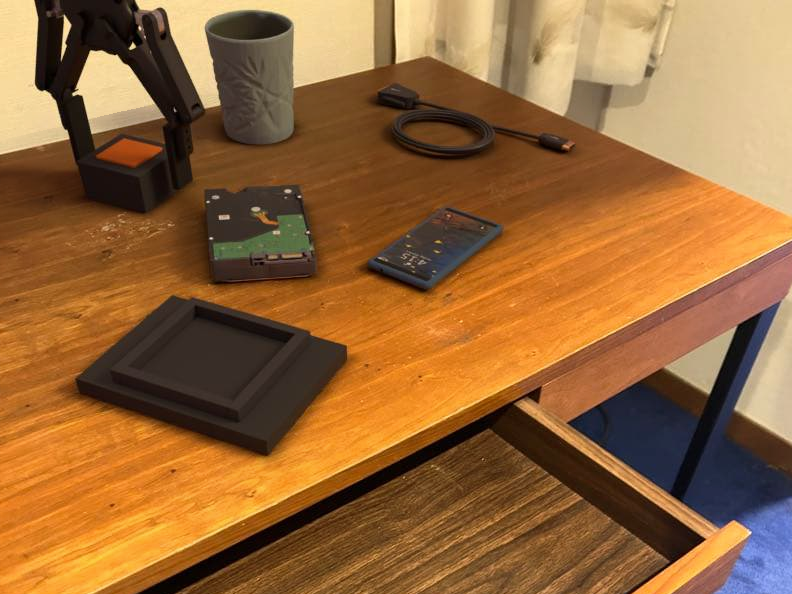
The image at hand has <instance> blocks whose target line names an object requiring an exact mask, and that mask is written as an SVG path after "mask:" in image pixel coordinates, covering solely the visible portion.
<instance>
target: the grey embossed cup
mask: <svg viewBox="0 0 792 594" xmlns="http://www.w3.org/2000/svg"><path fill="white" fill-rule="evenodd" d="M204 33H205V37H206V41H207V46H208V50H209V55H210V58H211V60H212V69H213V70H212V71H213V75H214V80H215V82H216V90H217V93H218V100H219V106H220V109H221V114H222V121H223V122H222V123H223V127H224V132H225V133H226V135H227V136H228V138H229V139H231V140H233V141H235V142H239V143H241V144H247V145H255V146H256V145H257V146H258V145H271V144H275V143H279V142H283V141H285V140H287V139H288V138H290V137H291V136H292V135H293V132H294V127H295V116H294V115H295V113H294V110H293V109H294V108H293V106H294V103H295V101H294V96H295V93H294V87H295V85H294V83H295V81H294V43H295V42H294V37H295V24H294V22H293V21H292V19H290V17H288V16H286V15H284V14H281V13H278V12H274V11H269V10H260V9H239V10H233V11H232V10H231V11H228V12H223V13H220V14H217V15H215V16H212V17H211V18H209V19H208V20H207V21H206V23H205V24H204Z"/></svg>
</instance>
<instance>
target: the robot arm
mask: <svg viewBox="0 0 792 594" xmlns="http://www.w3.org/2000/svg"><path fill="white" fill-rule="evenodd" d="M33 1H34V2H33V3H34V7H35V10H36V11H35V12H36V16H37V32H36V49H35V50H36V51H35V67H34V69H35V70H34V85H35V88H36V90H38V91H40V92H44V91H45V92H47V93H48V94H49V95H50V96H51V98H52V99H53V100H54V101H55V103H56V107H57V111H58V114H59V118H60V122H61V126H62V128H63V129H64V130H65V131H67V135H68V139H69V143H70V147H71V150H72V154H73V157H74V160H75V161H74V162H75V165H76V166H77V162H76V161H78V160H79V159H81V158H83V157H84V156H86V155H87V154H89V153H91V152H92V151H94V150H96V147H95V141H94V138H93V134H92V129H91V125H90V122H89V117H88V112H87V109H86V104H85V101H84V96H83V95H81V94H75V95H74V93H76V92H78V91H79V90H80V89H79V88H77V87H78V84H79V81H80V79H81V76H82V74H83V71H84V69H85V66H86V63H87V62H88V61H87V60H88V58H89V55H90V54H91V51H92V52H104V53H105V54H108V55H110V56H111V55H112V56H117V57H118V58H119V60H120V61H121V62H122V64H123V65H126V66H128V67H129V69H130V70H131V71H132V73H133V74H134V76H135V78H137V80H138V81H139V82H140V84H141V85H142V87H143V88H144V90H145V92H146V93H147V94H148V96H149V97H150V99H151V100H152V102H153V103H154V105H155V106H156V107H157V109H158V110H159V111H160V113H161V115H163V117H164V119H165V120H166V122H167V123H165V124H164V125H161V126H162V128H161V129H162V135H163V139H164V144H165V145H166V151H167V157H168V162H169V168H170V174H171V179H172V185H173V189H176V190H178V191H180V190H182V189H183V188H185V187H186V186H187V185H189V184H190V183H192V182H193V181H194V176H193V170H192V163H191V159H190V158H191V157H190V156H191V155H192V154H193V153H194V142H193V136H192V129H191V124H193V123H194V122H196V121H198V120H199V119H201V118H203V116H205V115H206V108H205V106H204V104H203V102H202V99H201V97H200V94H199V92H198V91H197V89H196V86H195V84H194V82H193V79H192V77H191V75H190V73H189V71H188V68H187V66H186V63H185V61H184V60H183V58H182V55H181V53H180V51H179V49H178V46H177V44H176V42H175V39H174V38H173V36H172V32H171V27H170V22H169V17H168V13H167V11H166V9H164V7H160V6H159V7H156V8H155V9H153V10H150V9H149V10H148V9H141V8H140V7H139V5H138V3H137V1H136V0H33ZM65 18H66V20H67V21H68V22H69V24H70V27H69V31H68V33H67V36H66V38H65V41H64V40H63V39H64V29H65ZM139 28H140V29H139ZM63 41H64V44H65V45H66V47H65V50H64V51H63ZM132 45H134V46H135V47H133V48H132V49H131V47H132ZM62 53H63V55H62Z"/></svg>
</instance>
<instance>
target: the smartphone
mask: <svg viewBox="0 0 792 594" xmlns="http://www.w3.org/2000/svg"><path fill="white" fill-rule="evenodd" d="M503 231H504V226H503V225H502V224H500V223H497V222H493V221H491V220H488V219H485V218H482V217H479V216H477V215H474V214H471V213H468V212H465V211H462V210H460V209H457V208H454V207H451V206H448V205H447V206H443V207H442V208H440V209H439V210H437V211H436V212H435V213H433V214H432V215H431V216H429V217H428V218H426V219H425V220H424V221H422V222H421V223H419V224H418V225H417V226H415V227H414V228H412V229H411V230H410V231H408V232H406V233H405V234H404V235H402V236H401V237H400V238H398V239H396V241H394V242H393V243H391V244H389V245H388V246H387V247H386V248H384V249H383V250H381V251H379V252H378V253H376V255H374V256H373V257H371V258H370V259H368V261H367V267H368V268H370V269H372V270H375V271H377V272H380V273H382V274H384V275H387V276H390V277H392V278H395V279H397V280H400V281H401V282H402V281H403V282H405V283H407V284H410V285H413V286H415V287H417V288H420V289H423V290H426V291H427V290H431V289H432V288H433V287H435V286H436V285H437V284H439V282H441V281H442V280H443V279H445V278H446V277H447V276H448V275H450V274H451V273H452V272H453V271H455V270H456V269H457V268H459V267H460V266H461V265H462V264H464V262H466V261H467V260H469V259H470V258H471V257H473V256H474V255H475V254H476V253H477V252H479V251H481V249H483V248H484V247H485V246H487V244H489V243H490V242H491V241H493V240H494V239H495V238H496V237H497V236H499V235H500V234H501V233H502V232H503Z"/></svg>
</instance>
